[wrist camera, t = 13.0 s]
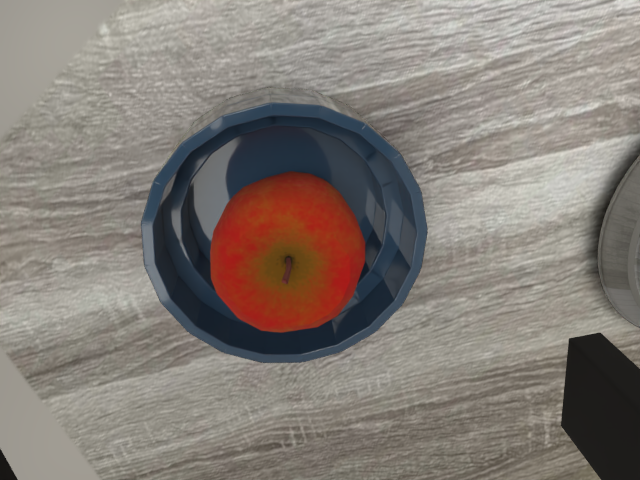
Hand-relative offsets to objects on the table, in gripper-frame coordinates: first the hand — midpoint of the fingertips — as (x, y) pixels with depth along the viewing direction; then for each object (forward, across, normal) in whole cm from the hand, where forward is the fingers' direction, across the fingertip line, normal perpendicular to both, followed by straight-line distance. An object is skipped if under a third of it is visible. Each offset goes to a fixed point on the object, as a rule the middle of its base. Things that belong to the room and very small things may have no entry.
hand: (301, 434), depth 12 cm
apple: (+15, 0, 0) cm, 15 cm away
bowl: (+15, 0, 0) cm, 15 cm away
